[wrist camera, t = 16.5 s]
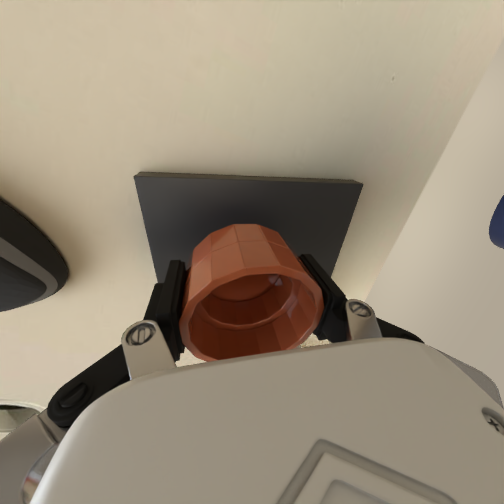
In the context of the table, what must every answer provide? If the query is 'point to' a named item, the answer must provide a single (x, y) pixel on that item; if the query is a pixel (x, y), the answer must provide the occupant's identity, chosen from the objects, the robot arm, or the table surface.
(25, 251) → the computer mouse
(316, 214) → the scale
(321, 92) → the table surface
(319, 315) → the bowl
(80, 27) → the table surface
